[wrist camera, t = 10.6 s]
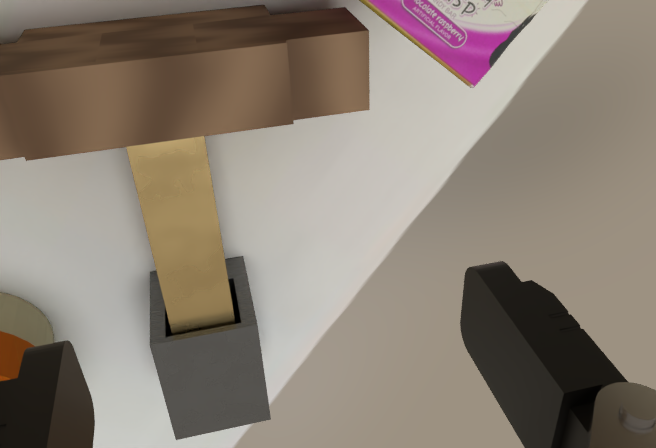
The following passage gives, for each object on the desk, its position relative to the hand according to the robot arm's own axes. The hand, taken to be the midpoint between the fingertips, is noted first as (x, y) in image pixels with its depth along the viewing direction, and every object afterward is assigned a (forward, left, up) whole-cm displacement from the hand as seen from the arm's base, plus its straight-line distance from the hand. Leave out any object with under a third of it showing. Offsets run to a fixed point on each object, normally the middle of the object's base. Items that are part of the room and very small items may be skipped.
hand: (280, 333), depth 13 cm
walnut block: (-3, -3, -30) cm, 30 cm away
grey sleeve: (-3, -24, -30) cm, 39 cm away
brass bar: (-3, -13, -27) cm, 30 cm away
